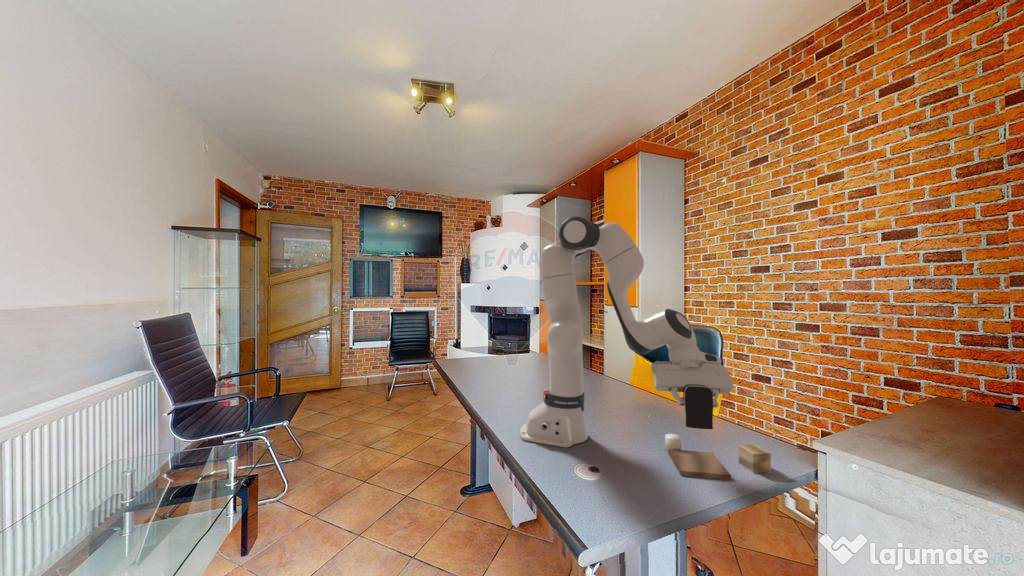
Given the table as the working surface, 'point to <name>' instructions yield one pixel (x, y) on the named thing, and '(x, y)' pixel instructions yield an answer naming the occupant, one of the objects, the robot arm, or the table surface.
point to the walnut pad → (698, 464)
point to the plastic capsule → (672, 442)
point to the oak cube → (755, 458)
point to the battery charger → (698, 406)
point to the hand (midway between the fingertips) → (698, 405)
